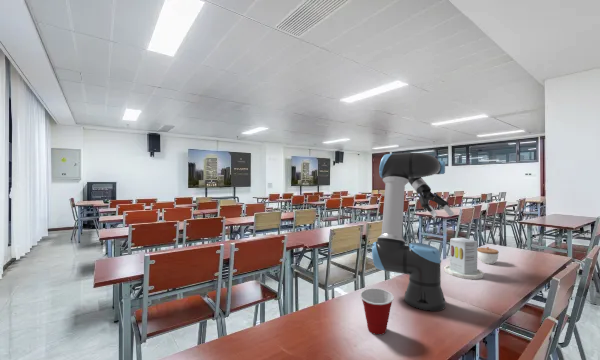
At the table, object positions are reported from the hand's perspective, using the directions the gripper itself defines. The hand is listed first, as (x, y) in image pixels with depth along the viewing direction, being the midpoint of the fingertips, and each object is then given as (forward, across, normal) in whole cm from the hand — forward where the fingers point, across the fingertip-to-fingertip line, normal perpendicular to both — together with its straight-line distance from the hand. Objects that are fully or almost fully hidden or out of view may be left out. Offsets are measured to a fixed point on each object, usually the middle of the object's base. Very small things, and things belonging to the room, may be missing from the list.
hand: (444, 215), depth 151 cm
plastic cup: (+44, +74, -2) cm, 86 cm away
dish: (+26, -6, -16) cm, 32 cm away
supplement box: (+26, -6, -16) cm, 31 cm away
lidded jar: (+22, -38, -20) cm, 48 cm away
